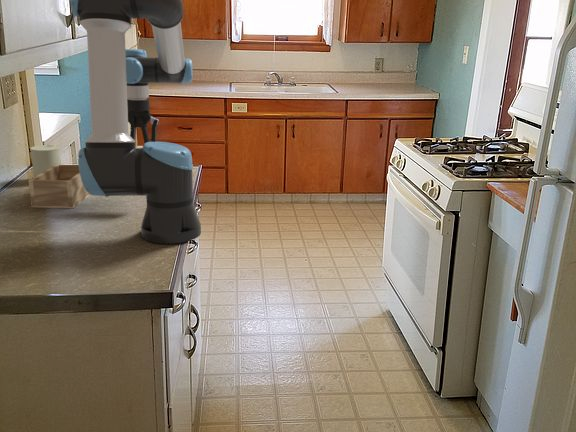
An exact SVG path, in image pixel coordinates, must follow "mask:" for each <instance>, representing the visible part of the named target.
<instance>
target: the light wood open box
mask: <svg viewBox="0 0 576 432" xmlns="http://www.w3.org/2000/svg"><path fill="white" fill-rule="evenodd" d="M27 181H28V189H29V195H30V205H31V208H42V209H43V208H46V209H47V208H51V209H75V207H77V206H79V205H80V203H82V202H83V201H84V200H85V199H87V198H88V197H89V196H90V195H91V194H89V193H88V192H87V191H86V189H85V188H84V186H83V183H82V180H81V176H80V172H79V165H78V164H61V165H55V166H53V167H51V168H49V169H48V170H46V171H44V172H42V173H41V174H39V175H37V176H35V177H34V176H33V177H31V178H30V179H28V180H27Z"/></svg>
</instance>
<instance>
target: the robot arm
mask: <svg viewBox="0 0 576 432" xmlns="http://www.w3.org/2000/svg"><path fill="white" fill-rule="evenodd" d="M69 2H70V9H71V12H72V15H73V16H75V17H77V18H79V25H80V26H82V28H83V29H84V30H85V31H86V39H87V42H86V43H87V56H88V57H87V61H88V82H89V104H90V107H89V108H90V122H91V123H90V124H91V125H90V126H91V134H90V135H89V136H88V138H86V139H85V147H82V148H81V149H79V150H78V157H77V158H78V159H77V160H78V161H77V163H78V164H77V165H79V172H80V176H81V180H82V183H83V186H84V188H85V189H86V191H87V192H88V193H89V194H90V195H91V196H97V197H99V196H101V197H107V198H108V197H110V196H111V197H116V196H117V197H119V196H121V197H122V196H123V197H125V196H127V197H128V196H133V197H134V196H145V198H146V208H145V212H144V215H143V218H142V223H141V226H140V233H141V238H142V239H144V240H145V241H148V242H151V243H153V244H154V243H155V244H162V243H164V244H167V245H169V244H171V245H172V244H181V243H186V242H190V241H192V240H193V241H194V240H195V239H197V238H199V237H200V236H201V234H202V226H201V225H202V223H201V221H200V218H199V215H198V213H197V210H196V207H195V205H194V184H193V182H194V181H193V169H194V165H193V157H192V152H191V150H190V149H189V148H188V147H186V146H184V145H181V144H178V143H173V142H167V141H157V139H158V138H157V137H158V136H157V135H158V125H159V122H160V119H159V118H155V117H153V116H152V114H151V110H150V109H151V108H150V107H151V106H150V99H148V98H149V97H150V91H149V87H150V86H149V84H178V85H181V84H191V83H192V82H193V77H194V76H193V72H194V71H193V61H192V59H190V58H189V57H188V58H186V57H185V49H184V41H183V32H182V31H183V30H182V23H181V22H182V21H183V19H184V14H185V13H184V12H185V11H184V3H183V0H70V1H69ZM132 19H146V20H147V22H148V23H149V24H150V25H151V29H152V33H153V39H154V43H155V48H156V53H157V57H148V53H147V51H146V50H145V49H142V48H141V49H139V48H126V32H128V31H129V30H130V29H131V28H132ZM149 123H150V124H151V139H150V136H149V135H150V134H149V131H148V124H149ZM129 125H130V127H129ZM129 128H130V132H129ZM137 128H140V130H141V132H142V133H141V134H142V137H143V142H144V143H143V145H142V146H143V149H136V135H137ZM168 243H169V244H168Z"/></svg>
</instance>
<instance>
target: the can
mask: <svg viewBox="0 0 576 432" xmlns="http://www.w3.org/2000/svg"><path fill="white" fill-rule="evenodd" d="M30 155H31V156H30V157H31V162H32V163H31V164H32V172H33V178H34V177H35V176H37V175H39V174H41V173H42V172H44V171H46V170H48V169H49V168H51V167H53V166H55V165H62V159H61V158H62V157H61V156H62V155H61V147H60V146H59V145H55V144H42V145H41V144H39V145H34V146H31V147H30Z"/></svg>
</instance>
